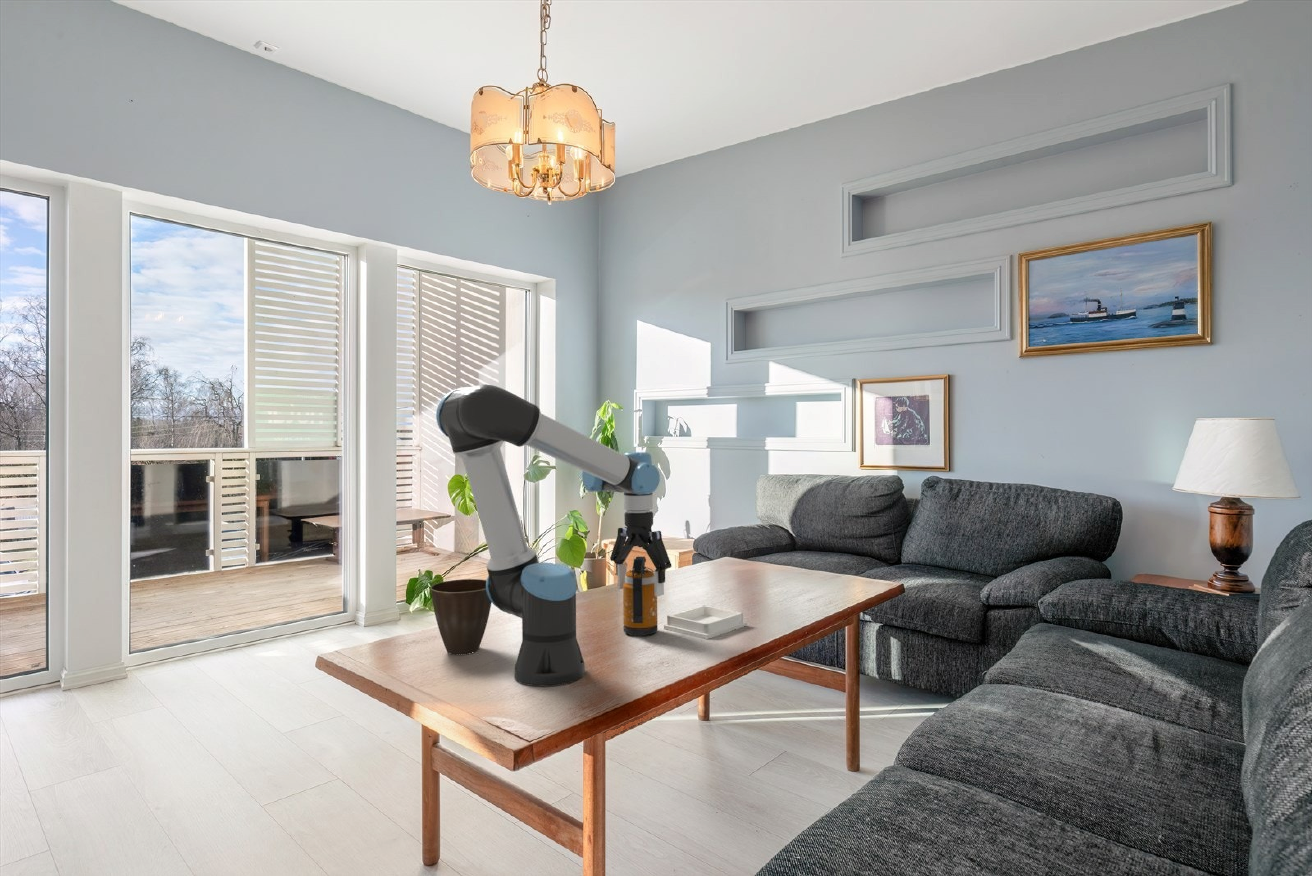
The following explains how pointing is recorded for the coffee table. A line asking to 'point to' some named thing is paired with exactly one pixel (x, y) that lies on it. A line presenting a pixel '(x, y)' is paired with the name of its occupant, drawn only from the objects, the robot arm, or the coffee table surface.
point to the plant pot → (461, 613)
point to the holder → (705, 621)
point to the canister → (639, 600)
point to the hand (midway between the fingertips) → (640, 591)
